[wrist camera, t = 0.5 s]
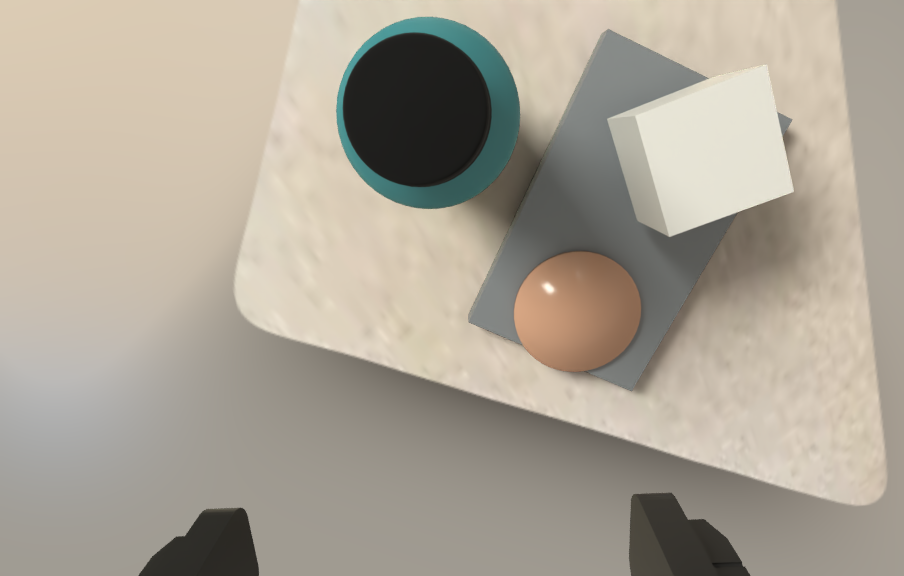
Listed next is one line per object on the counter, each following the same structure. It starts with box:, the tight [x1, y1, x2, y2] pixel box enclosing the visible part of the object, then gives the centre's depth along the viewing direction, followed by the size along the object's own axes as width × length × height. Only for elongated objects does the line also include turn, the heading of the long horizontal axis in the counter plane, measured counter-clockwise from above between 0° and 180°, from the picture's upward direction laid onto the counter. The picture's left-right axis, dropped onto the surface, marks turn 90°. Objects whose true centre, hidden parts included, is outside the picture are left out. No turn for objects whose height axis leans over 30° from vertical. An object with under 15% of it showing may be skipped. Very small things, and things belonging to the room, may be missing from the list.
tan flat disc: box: [514, 251, 641, 372], centre depth 34 cm, size 8×8×1 cm
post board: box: [468, 29, 792, 391], centre depth 31 cm, size 19×12×8 cm, turn 156°
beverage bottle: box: [336, 17, 520, 209], centre depth 23 cm, size 6×7×20 cm
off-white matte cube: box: [607, 64, 794, 237], centre depth 27 cm, size 6×6×5 cm
